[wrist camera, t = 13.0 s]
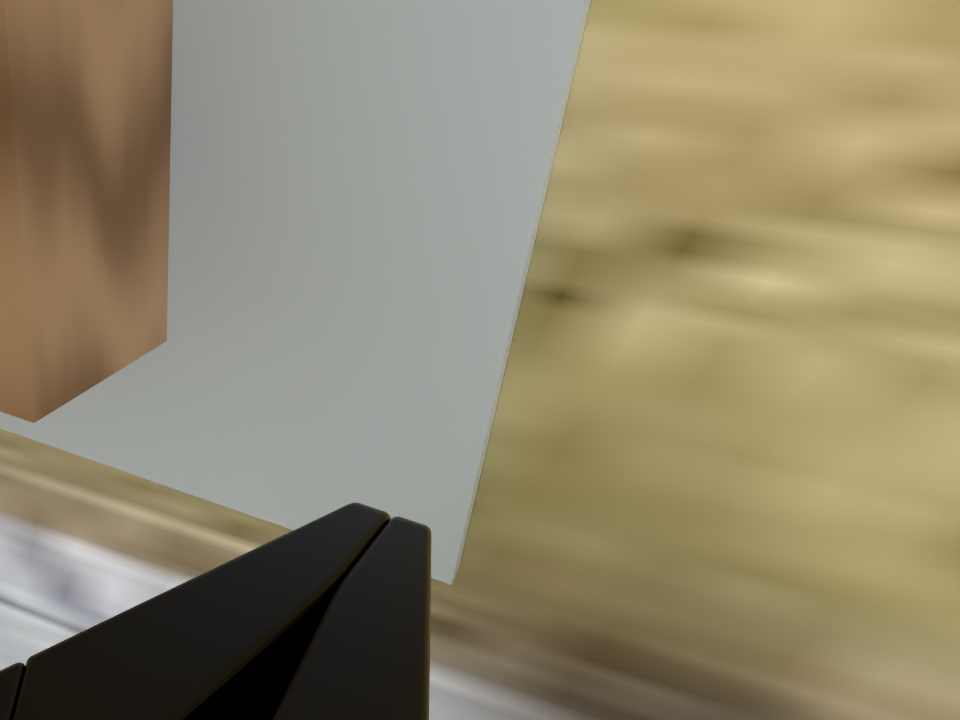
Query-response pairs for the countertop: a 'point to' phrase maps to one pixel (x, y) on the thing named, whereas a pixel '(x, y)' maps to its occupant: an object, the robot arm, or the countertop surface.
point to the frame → (81, 194)
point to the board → (339, 256)
